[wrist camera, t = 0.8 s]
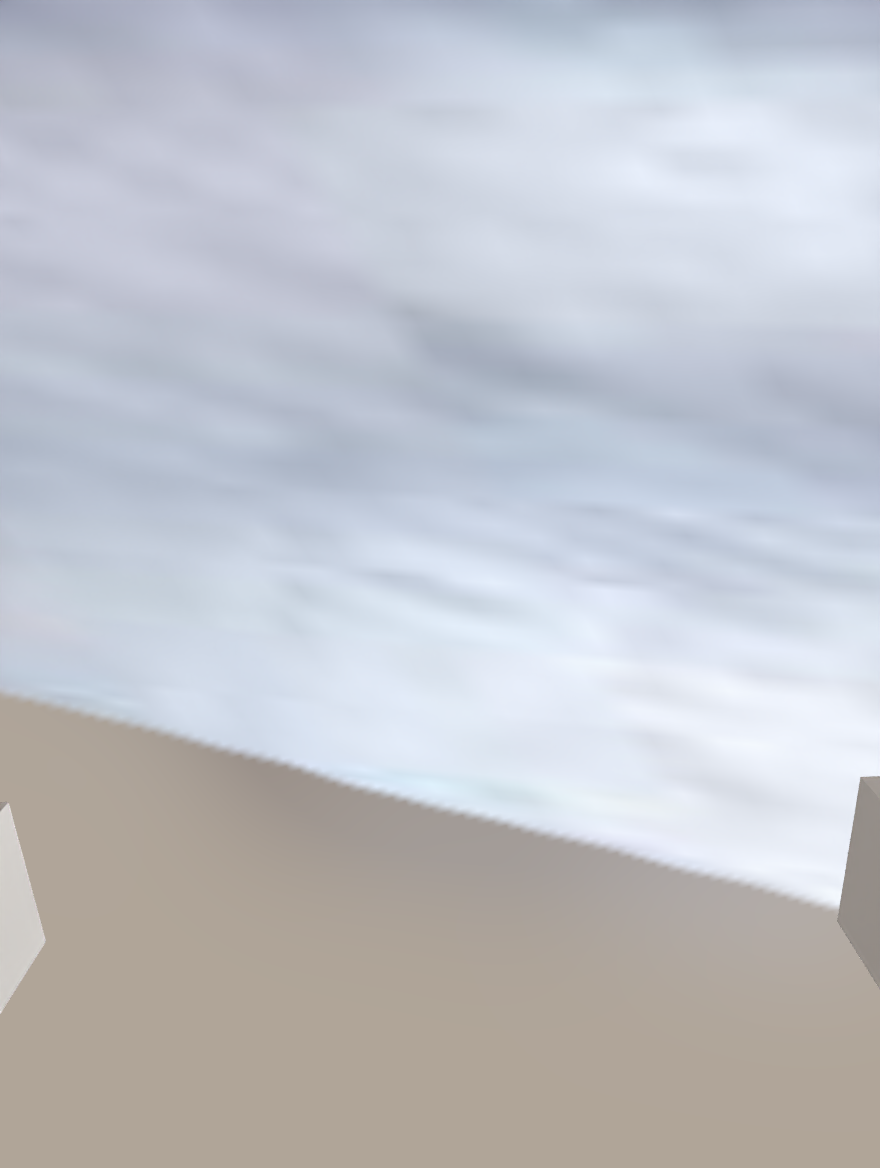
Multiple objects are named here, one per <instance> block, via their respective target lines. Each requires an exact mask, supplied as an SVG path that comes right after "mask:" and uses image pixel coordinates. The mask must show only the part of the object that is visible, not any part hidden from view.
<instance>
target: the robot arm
mask: <svg viewBox="0 0 880 1168" xmlns="http://www.w3.org/2000/svg"><path fill="white" fill-rule="evenodd" d="M837 921H838V923H839V925H840V927H841V928H842V930H843V931H844V933H845V935H846V936H847V938H848V939H849V941H850V943H851V944H852V946H853V947H854V949H855V950H856V952H857V954H858V955H859V957H860V959H861V960H862V962H863V963H864V965H865V967H866V968H867V969H868V971H869V973H870V975H871V976H872V977H873V979H874V981H875V983H876V984H877V986H878V987H879V989H880V776H877V777H861V778H860V784H859V790H858V796H857V802H856V809H855V815H854V821H853V827H852V833H851V839H850V846H849V852H848V858H847V864H846V870H845V877H844V883H843V889H842V895H841V901H840V908H839V914H838V920H837ZM45 942H46V940H45V936H44V933H43V929H42V925H41V921H40V918H39V914H38V910H37V907H36V903H35V899H34V895H33V892H32V888H31V885H30V880H29V877H28V873H27V870H26V866H25V862H24V858H23V854H22V851H21V847H20V843H19V840H18V836H17V832H16V828H15V825H14V821H13V817H12V813H11V810H10V806H9V803H8V802H1V803H0V1013H1V1012H2V1010H3V1009H4V1007H5V1005H6V1004H7V1002H8V1001H9V999H10V997H11V996H12V994H13V993H14V991H15V990H16V988H17V986H18V985H19V983H20V982H21V980H22V978H23V977H24V975H25V974H26V972H27V970H28V969H29V967H30V966H31V964H32V962H33V961H34V959H35V958H36V956H37V955H38V953H39V952H40V950H41V948H42V947H43V945H44V944H45Z"/></svg>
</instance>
